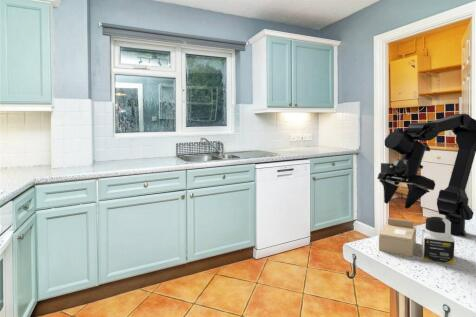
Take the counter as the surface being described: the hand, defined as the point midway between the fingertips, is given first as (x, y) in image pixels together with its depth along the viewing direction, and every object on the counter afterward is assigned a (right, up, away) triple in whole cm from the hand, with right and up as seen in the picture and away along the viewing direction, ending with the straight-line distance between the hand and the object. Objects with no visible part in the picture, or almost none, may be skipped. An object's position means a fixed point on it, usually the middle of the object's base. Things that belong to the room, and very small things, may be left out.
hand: (395, 205), depth 94 cm
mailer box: (+1, -14, +1) cm, 14 cm away
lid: (+1, -9, 0) cm, 9 cm away
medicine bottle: (+8, -15, -7) cm, 18 cm away
